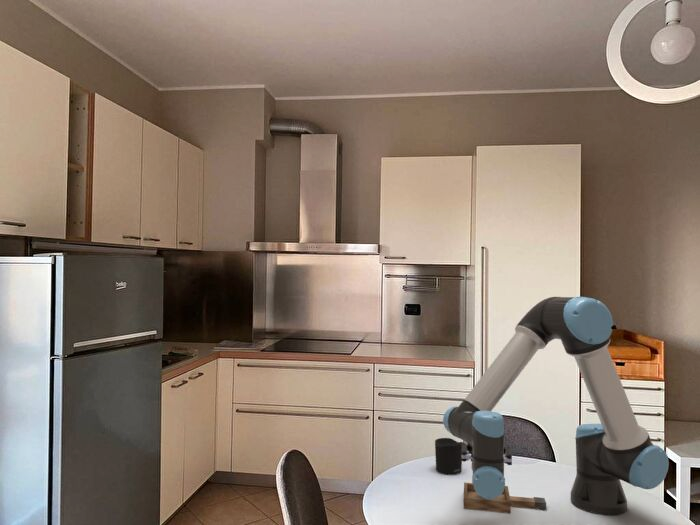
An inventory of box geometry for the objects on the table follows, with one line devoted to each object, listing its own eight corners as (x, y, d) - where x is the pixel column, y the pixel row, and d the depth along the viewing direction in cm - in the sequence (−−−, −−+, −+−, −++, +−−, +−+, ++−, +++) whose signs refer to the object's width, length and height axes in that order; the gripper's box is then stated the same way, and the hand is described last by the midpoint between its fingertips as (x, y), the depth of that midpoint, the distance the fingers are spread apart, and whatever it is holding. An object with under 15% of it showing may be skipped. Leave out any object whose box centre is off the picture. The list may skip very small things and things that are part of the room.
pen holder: (436, 474, 183) (436, 444, 183) (434, 466, 192) (434, 437, 193) (464, 475, 182) (464, 445, 183) (460, 466, 191) (460, 438, 192)
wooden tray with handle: (542, 499, 162) (542, 488, 162) (548, 516, 149) (548, 505, 149) (464, 492, 167) (464, 482, 167) (463, 508, 154) (463, 497, 154)
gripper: (449, 476, 144) (452, 452, 167) (525, 483, 140) (518, 457, 163) (449, 448, 145) (452, 427, 167) (525, 454, 141) (518, 432, 163)
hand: (485, 442), depth 165 cm, fingers closed on squeeze bottle, 6 cm apart
